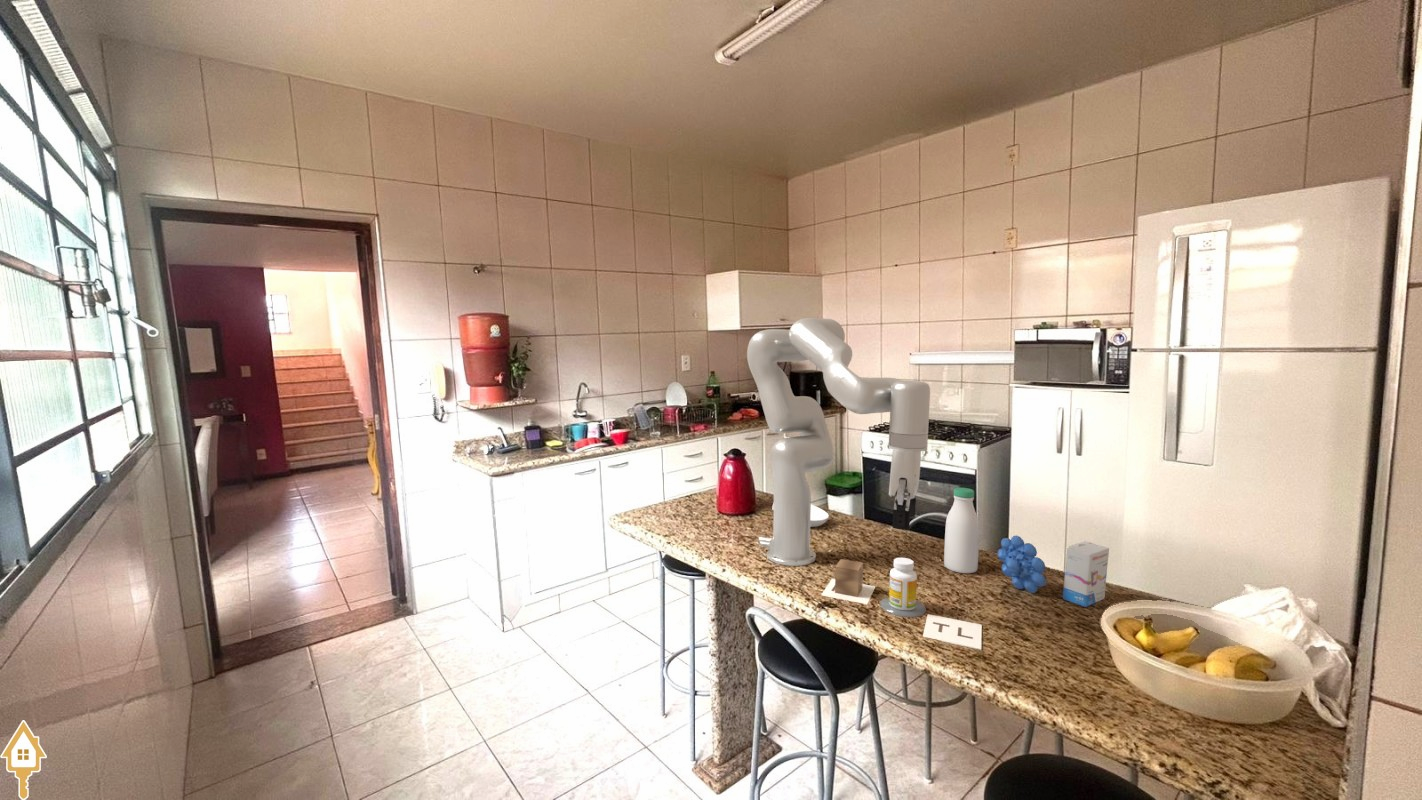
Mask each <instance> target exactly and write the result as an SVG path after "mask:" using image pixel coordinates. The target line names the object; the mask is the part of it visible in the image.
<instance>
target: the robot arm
mask: <svg viewBox="0 0 1422 800" xmlns="http://www.w3.org/2000/svg"><path fill="white" fill-rule="evenodd" d="M845 339H846V334H845V330H844V328H843V326H842V325H841V324H840V323H839V322H838V321H836V320H834V319H832V318H822V317H821V318H819V317H816V318H815V317H805V318H801V319H797V321H795V322H794V323H793V324H792V325H791V326H790V328H789V329H781V328H780V329H778V328H772V329H771V328H770V329H764V330H760V331H758V332H756V333H755V334H754V335H752V337H751V338H750V340H749V342H748V345H747V349H746V350H747V352H746V355H747V356H746V359H747V364H748V368H749V371H750V372H751V374H752V377H753V379H754V380H753V381H754V382H755V384H756V387H757V390H758V395H759V400H760V403H761V407H762V410H763V413H764V416H765V417H764V418H765V421H766V424H767V427H768V429H769V430H770V431H771V432H773V433H774V434H778V435H779V434H793V433H799V436H797V435H796V436H789V437H785V438H782V439H779V440H777V441H776V442H775V443H774V444H773V445H772V447H771V449H770V451H769V453H770V454H769V458H770V459H769V460H770V461H769V462H770V466H771V472H772V480H773V481H772V483H773V503H774V510H773V524H772V526H773V527H772V528H773V529H772V530H773V531H772V533H773V534H772V536H771V537H767V536H761V535H760V536H759V537H758V544H759V546H760V547H763V548H765V547H766V548H767V552H766V556H767V558H768V559H769V560H770V561H771V562H773V563H775V564H778V565H782V566H786V567H787V566H788V567H800V566H807V565H810V564H812V563H814V562H815V561H816V559H817V555H816V552H815V551H814V550H812V548H811V527H810V514H811V504H812V499H811V498H812V495H811V494H812V493H811V488H810V484H809V482H808V481H807V478H806V476H805V475H806V474H807V473H812V472H819V471H822V470H825V469H827V468H829V467H830V465H831V464H832V462H833V459H834V446H833V442H832V439H831V435H830V432H829V428H828V424H827V422H826V418H825V414H824V412H823V409H822V406H821V405H820V404H819V402H818V401H816V399H815V398H813V397H811V396H805V395H803V396H802V395H800V396H796V395H794V393H793V390H792V388H791V384H790V380H789V378H788V376H787V374H786V373H785V371H783V369H782V368H780V366H779V365H778V364H777V363H778V362H779V363H780V362H781V363H783V362H786V363H787V362H788V363H789V362H790V363H791V362H804V361H809V362H811V363H812V364H813V365H814V366H815V367H816V368H818V369H819V370H820V371H821V372H822V375H823V376H822V377H823V381H824V385H825V387H826V389H827V392H828V393H829V394H830V395H831V396H832V397H833V398H834V399H835V400H836V401H837V402H838V403H839V404H841V406H843V407H844V409H847V410H848V411H849V412H852V413H853V414H857V415H868V414H869V415H871V414H880V413H881V414H882V413H883V414H884V413H889V427H888V428H889V430H888V431H889V432H888V433H889V434H888V448H890V449H892V454H891V462H890V473H889V486H888V496H889V497H890V498H893V497H895V498H894V504H893V509H892V510H893V511H892V512H893V513H892V528H893V529H895V530H903V531H909V530H910V525H911V524H910V523H911V522H910V521H911V517H912V518H915V516H916V507H917V506H916V504H917V498H916V494H917V492H918V490H919V483H920V474H921V458H922V452H925V451H927V450H928V442H929V420H930V419H929V418H930V403H931V387H930V385H929V383H927V382H924V381H919V380H902V379H898V378H895V377H894V378H893V377H865V378H862V377H861V376H859V375H857V374H856V373H854V372H853V371H852V370H851V369H850V368H849V365H850V363H851V361H852V358H853V350H852V348H851V346H850V345H849V344H848V343H846V342H845Z"/></svg>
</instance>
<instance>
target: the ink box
mask: <svg viewBox="0 0 1422 800" xmlns="http://www.w3.org/2000/svg"><path fill="white" fill-rule="evenodd" d="M1109 553H1110V548H1109V547H1106V546H1103V545H1100V544H1097V543H1095V542H1090V541H1086V540H1085V541H1082V542H1079V543H1074V544H1072V545H1069V546H1068V547H1067V548H1066V556H1065V558H1066V559H1065V567H1064V569H1065V570H1064V581H1063V590H1062V591H1063V592H1062V593H1063V594H1062V599H1063V601H1067V602H1070V603H1073V604H1075V605H1078V606H1080V607H1081V606H1082V607H1083V608H1087V607H1089V606H1092V605H1094V604H1096V603H1098V602H1100V601H1102V600H1104V599H1105V596H1106V595H1105V594H1106V586H1107V585H1106V584H1107V575H1108V564H1109V555H1110V554H1109Z"/></svg>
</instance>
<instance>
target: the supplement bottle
mask: <svg viewBox="0 0 1422 800" xmlns="http://www.w3.org/2000/svg"><path fill="white" fill-rule="evenodd" d="M914 568H915V561H914V560H912V559H910V558H908V557H907V558H906V557H895V558H894V559H893V568H891V569H890V572H889V590H888V597H889V604H890V605H891V606H892V607H893V608H895V609H898V610H903V611H909V610H913V609H914V608H915V607H916V601H917V587H918V586H917V585H918V584H917V583H918V575H917V572H916V571H914Z"/></svg>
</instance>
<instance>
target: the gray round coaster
mask: <svg viewBox="0 0 1422 800" xmlns="http://www.w3.org/2000/svg"><path fill="white" fill-rule="evenodd" d="M880 607H881V608H882V609H883V610H884V611H885V612H887V613H889V614H891V615H894V616H897V617H900V618H901V617H902V618H918V617H922V616H923V615H925V613H926V611H927V610H926V606H925V605H924V604H923V602H920V601H919V600H916V607H915V608H914V609H913V610H909V611H903V610H898V609H895V608H893V607H892V606H891V605H890V604H889V596H887V597H884V598H882V599H881V600H880Z"/></svg>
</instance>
